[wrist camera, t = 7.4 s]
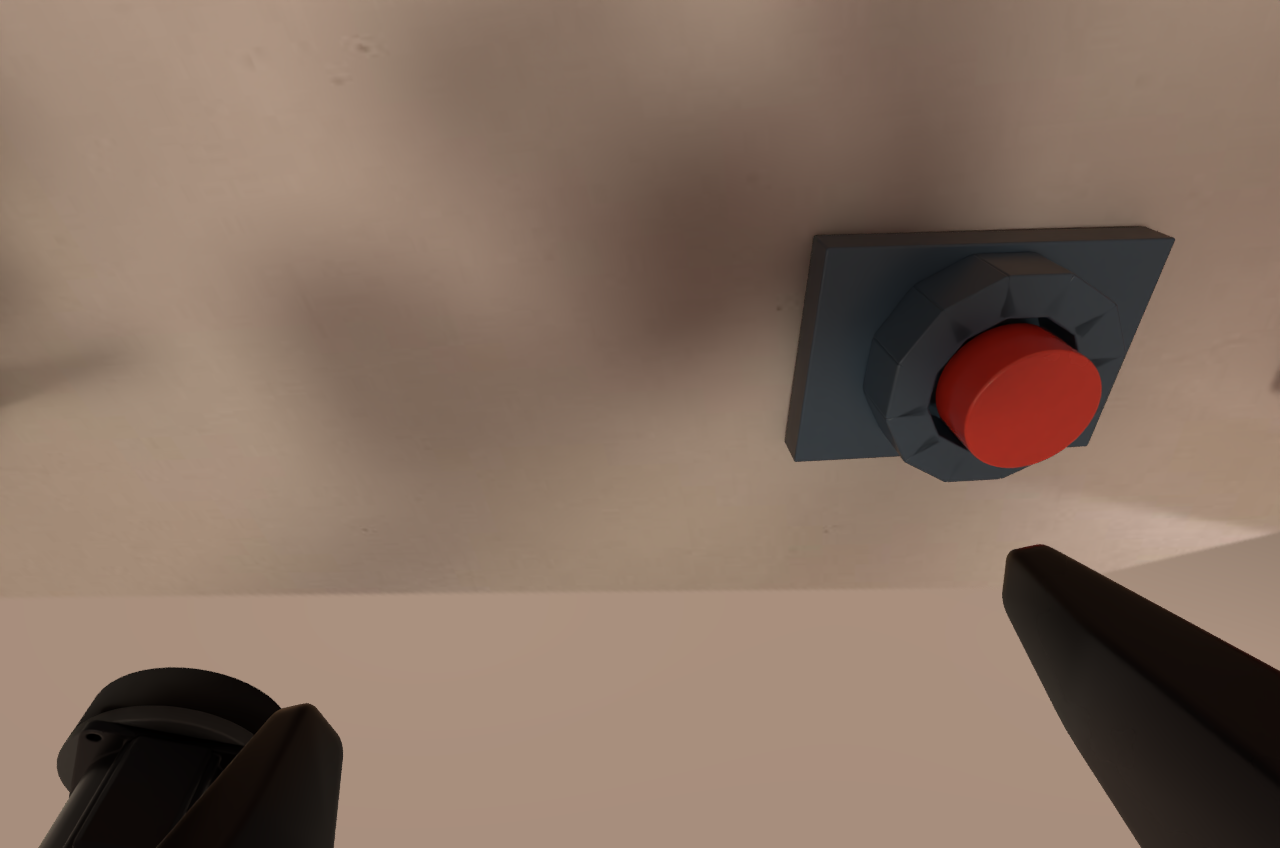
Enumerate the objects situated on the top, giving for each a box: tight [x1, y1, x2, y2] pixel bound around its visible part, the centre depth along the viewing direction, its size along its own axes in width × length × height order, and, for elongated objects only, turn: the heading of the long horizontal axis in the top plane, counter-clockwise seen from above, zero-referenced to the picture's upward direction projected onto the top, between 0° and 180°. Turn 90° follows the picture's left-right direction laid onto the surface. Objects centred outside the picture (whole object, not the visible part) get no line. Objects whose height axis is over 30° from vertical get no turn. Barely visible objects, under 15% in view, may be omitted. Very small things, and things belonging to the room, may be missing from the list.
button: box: [935, 323, 1102, 468], centre depth 18 cm, size 4×4×2 cm
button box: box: [785, 227, 1175, 482], centre depth 20 cm, size 10×7×3 cm
